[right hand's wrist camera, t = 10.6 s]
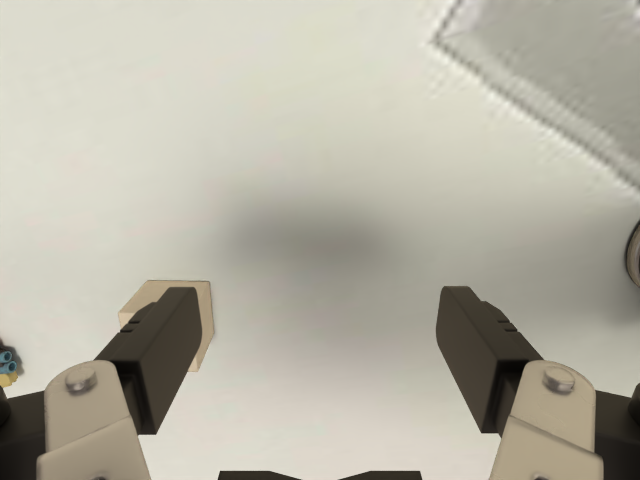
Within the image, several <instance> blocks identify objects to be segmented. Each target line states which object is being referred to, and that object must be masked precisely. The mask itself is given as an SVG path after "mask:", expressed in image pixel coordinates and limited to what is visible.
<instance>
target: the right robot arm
mask: <svg viewBox="0 0 640 480" xmlns="http://www.w3.org/2000/svg"><path fill="white" fill-rule="evenodd" d="M627 268H628V272H629V274H630V276H631V278H632V280H633V281H634V282H635V284H637V285H638V286H639V287H640V225H639V226H638V228H637V229H636V231H635V233H634V235H633V237H632V239H631V242H630V244H629V248H628V252H627ZM436 338H437V343H438V346H439V348H440V350H441V352H442V354H443V356H444V358H445V360H446V363H447V365H448V367H449V369H450V371H451V373H452V375H453V377H454V379H455V381H456V383H457V385H458V387H459V389H460V391H461V393H462V395H463V397H464V399H465V401H466V403H467V405H468V407H469V409H470V411H471V413H472V415H473V417H474V419H475V421H476V423H477V425H478V427H479V430H480V432H481V433H499V435H500V437H501V442H500V445H499V448H498V452H497V455H496V458H495V461H494V465H493V468H492V471H491V474H490V478H489V480H640V383H639V384H638V385H637V386H636V388H635V391H634V393H633V395H632V398H630V397H625V396H620V395H616V394H611V393H607V392H602V391H597V390H595V389H594V387H593V385H592V384H591V383H590V382H589V381H588V380H587V379H586V378H585V377H584V376H583V375H581V374H580V373H578V372H577V371H575V370H573V369H571V368H569V367H567V366H565V365H562V364H559V363H556V362H552V361H546V360H544V359H543V358H542V357H541V356H540V355H539V354H538V352H537V351H536V350H535V349H534V348H533V347H532V346H531V344H530V343H529V342H528V341H527V340H526V339H525V338H524V337H523V335H522V334H521V333H520V332H517V329H516V327H515V326H514V325H513V324H512V323H510V321H509V320H508V318H507V317H506V316H505V315H504V314H503V313H502V312H501V310H499V309H497V308H496V307H494V306H493V305H491V304H489V303H488V302H486V301H480V299H479V298H478V297H477V296H476V295H475V293H474V292H473V291H472V290H471V288H470V287H468V286H444V287H443V288H442V291H441V296H440V303H439V310H438V317H437V324H436ZM201 340H202V323H201V316H200V309H199V302H198V295H197V291H196V289H195V287H169V288H168V289H167V290H166V291H165V293H164V294H163V295H162V296H161V297H160V299H159V300H158V301H157V302H151V303H150V304H148V305H146V306H145V307H143V308H141V309H140V310H138V311H137V312H136V313H135V314H134V315H133V316H132V318H131V319H130V320H129V321H128V324H125V325H124V327H123V328H122V329H121V330H120V333H117V334H116V336H115V337H114V338H113V339H112V340H111V341H110V342H109V343H108V345H107V346H106V347H105V348H104V349H103V350H102V351H101V352H100V354H99V355H98V356H97V357H96V358H95V359H94V360H93V361H88V362H84V363H81V364H78V365H75V366H73V367H71V368H69V369H67V370H65V371H63V372H62V373H60V374H59V375H57V376H56V377H55V378H54V379H53V380H52V381H51V382H50V383H49V384H48V385H47V387H46V389H45V390H44V391H40V392H36V393H31V394H27V395H22V396H18V397H13V398H8V399H7V397H6V395H5V393H4V390H3V388H2V386H1V385H0V480H151V478H150V474H149V471H148V468H147V465H146V461H145V458H144V455H143V452H142V448H141V445H140V442H139V439H138V435H156V434H157V432H158V430H159V428H160V426H161V424H162V422H163V420H164V418H165V416H166V414H167V412H168V410H169V408H170V406H171V404H172V402H173V400H174V398H175V395H176V393H177V391H178V389H179V387H180V385H181V383H182V381H183V379H184V377H185V375H186V373H187V371H188V369H189V367H190V365H191V363H192V361H193V359H194V357H195V355H196V353H197V351H198V349H199V347H200V344H201ZM218 480H301V479H297V478H293V477H290V476H286V475H282V474H279V473H275V472H271V471H220V473H219V477H218ZM339 480H422V477H421V473H420V471H369V472H365V473H361V474H358V475H354V476H350V477H347V478H343V479H339Z"/></svg>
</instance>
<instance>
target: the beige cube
mask: <svg viewBox="0 0 640 480" xmlns="http://www.w3.org/2000/svg"><path fill="white" fill-rule="evenodd" d="M169 287H195V289H196V291H197V295H198V302H199V309H200V316H201V323H202V340H201V344H200V347H199V349H198V351H197V353H196V355H195V357H194V359H193V361H192V363H191V365H190V367H189V369H188V371H187V372H198V370H199V368H200V366H201V363H202V361H203V358H204V356H205V354H206V351H207V349H208V346H209V344H210V342H211V339H212V337H213V334H214V327H213V317H212V306H211V295H210V285H209V282H200V281H147V282H146V283H145V284H144V285H143V286H142V287H141V288H140V289H139V290H138V291H137V293H136V294H135V295H134V296H133V297H132V298H131V299H130V300H129V301H128V302H127V304H126V305H125V306H124V307H123V308H122V309H121V310H120V311H119V312H118V316H119V321H120V325H121V329H122V328H123V327H124V325H125V324H128V321H129V320H130V319H131V318H132V316H133V315H134V314H135V313H136V312H137V311H138V310H140V309H141V308H143V307H145V306H146V305H148V304H150V303H151V302H157V301H158V300H159V299H160V297H161V296H162V295H163V294H164V293H165V291H166V290H167V289H168V288H169Z"/></svg>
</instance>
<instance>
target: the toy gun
mask: <svg viewBox="0 0 640 480" xmlns="http://www.w3.org/2000/svg"><path fill="white" fill-rule="evenodd" d="M11 358H12V353H11V352H10V351H5V349H4V350H0V385H1V386H2V388H3V387H7V386H11V385H12V382H15V381H17V380H16V379H17V378H18V376H17V373H16V371H15V370H16V368H17V363H16V362H15V361H10V360H11Z"/></svg>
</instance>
